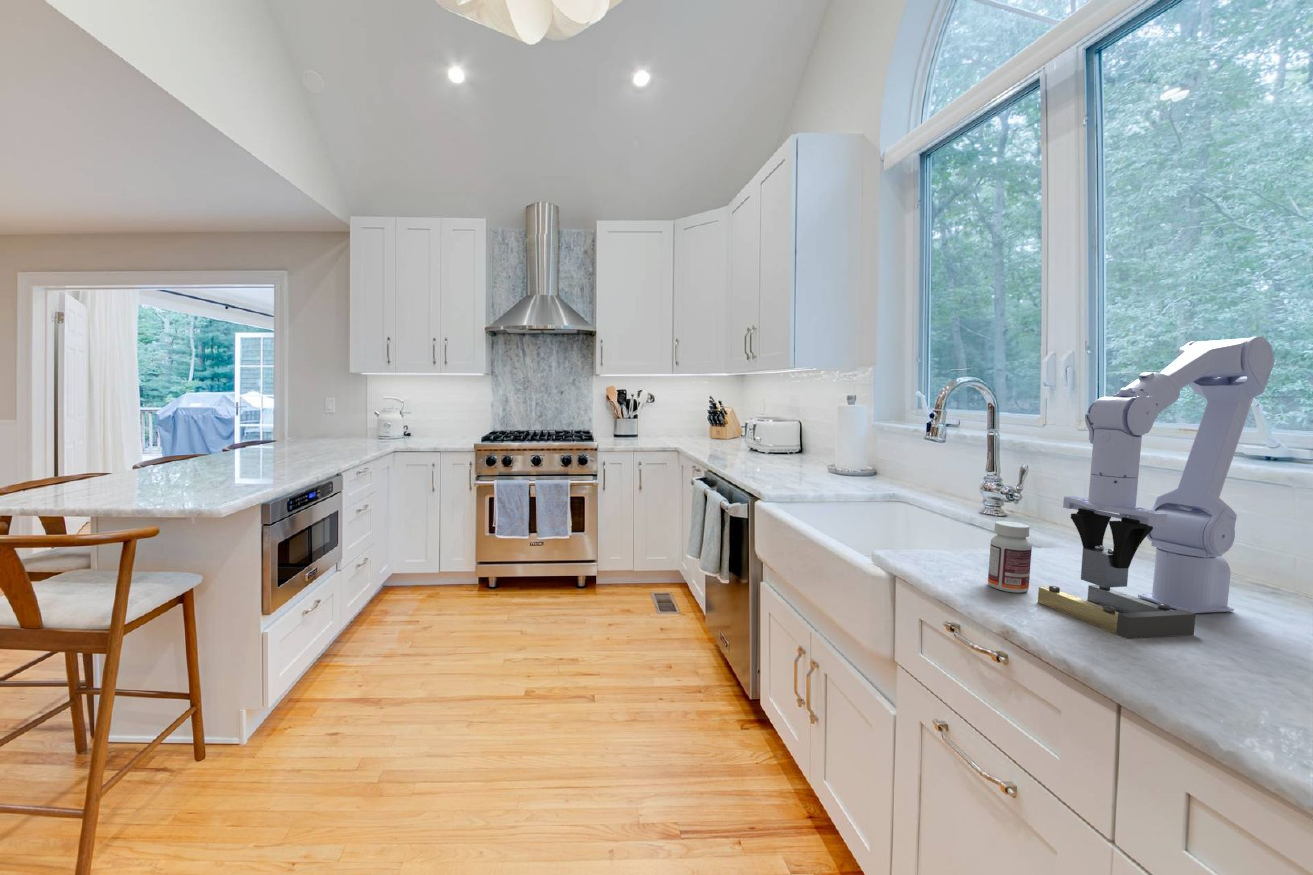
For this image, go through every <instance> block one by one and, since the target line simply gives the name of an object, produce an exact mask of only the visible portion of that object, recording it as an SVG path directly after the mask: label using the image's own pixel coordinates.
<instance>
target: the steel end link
mask: <svg viewBox="0 0 1313 875" xmlns="http://www.w3.org/2000/svg"><path fill="white" fill-rule="evenodd" d="M1086 599H1087V600H1086V601H1088V602H1091V603H1094V604H1097V605H1099V606H1102V607H1103V606H1111V607H1114V608H1116V610H1115V611H1116V612H1118V613H1136V612H1155V611H1174V610H1175V609H1173V608H1170V605H1168V604H1164V603H1155V602H1152V601H1149V600H1146V599H1143V598H1140V597H1136V596H1132V595H1130V594H1127V593H1123V592H1122V591H1121V592H1120V591H1117V590H1115V589H1113V588H1112V589H1111V587H1109V588H1105V587H1102V586H1099V585H1096V584H1088V588H1087V598H1086Z"/></svg>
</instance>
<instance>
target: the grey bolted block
mask: <svg viewBox="0 0 1313 875" xmlns="http://www.w3.org/2000/svg"><path fill="white" fill-rule="evenodd" d="M1081 554H1082V555H1081V570H1080V580H1081V581H1085V582H1087V583H1090V584H1092V585H1099V586H1102V587H1105V588H1109V587H1110V588H1123V587H1126V588H1127V587H1128V579H1129V578H1128V577H1129V568H1121V569H1119V568H1115V567H1114V564H1113V548H1109V547H1105V546H1104V545H1103V546H1101V545H1094V548H1083V547H1082V553H1081Z"/></svg>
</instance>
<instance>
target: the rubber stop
mask: <svg viewBox="0 0 1313 875" xmlns="http://www.w3.org/2000/svg"><path fill="white" fill-rule="evenodd" d="M1173 610H1174V611H1155V612H1136V613H1122V612H1118V619H1117V631H1116V634H1115V635H1117V636H1120V637H1122V638H1123V639H1127V640H1133V639H1146V638H1147V639H1148V638H1161V637H1163V638H1164V637H1179V636H1180V637H1181V636H1193V635H1195V627H1196V626H1195V625H1196V619H1197V618H1196V616H1197V613H1191V612H1188V611H1185V610H1176V609H1173Z"/></svg>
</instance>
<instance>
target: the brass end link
mask: <svg viewBox="0 0 1313 875" xmlns="http://www.w3.org/2000/svg"><path fill="white" fill-rule="evenodd" d="M1037 591H1038V592H1037V595H1038V597H1037V602H1038V604H1041V605H1044V606H1047V607H1049V608H1051V609H1053V610H1056V611H1059V612H1061V613H1063V614H1066V615H1068V616H1071V617H1074V618H1075V619H1079V620H1080V621H1083V622H1085V623H1087V624H1090V625H1092V626H1095V627H1098V628H1099V629H1102V630H1104V631H1108V632H1110V633H1112V634H1115V635H1117V634H1116V631H1117V619H1118V613H1119V611H1117V610H1116V608H1114V607H1111V606H1103V605H1100V604H1097V603H1095V602H1092V601H1089V600H1085V599H1082V598H1081V597H1078V596H1074V595H1072V594H1069V593H1067V592H1063V591H1061V588H1060V586H1056V585H1049V586H1039V587H1038V590H1037Z"/></svg>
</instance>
